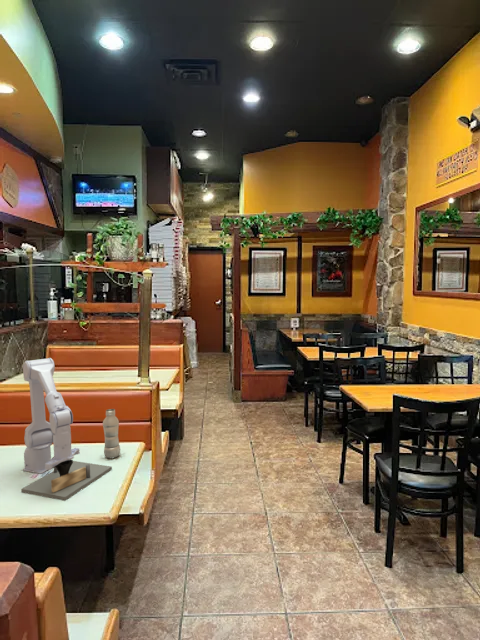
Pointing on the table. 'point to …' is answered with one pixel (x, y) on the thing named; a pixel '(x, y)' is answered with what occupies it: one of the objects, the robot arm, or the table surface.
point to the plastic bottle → (111, 434)
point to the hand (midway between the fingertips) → (64, 480)
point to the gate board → (44, 486)
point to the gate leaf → (68, 479)
